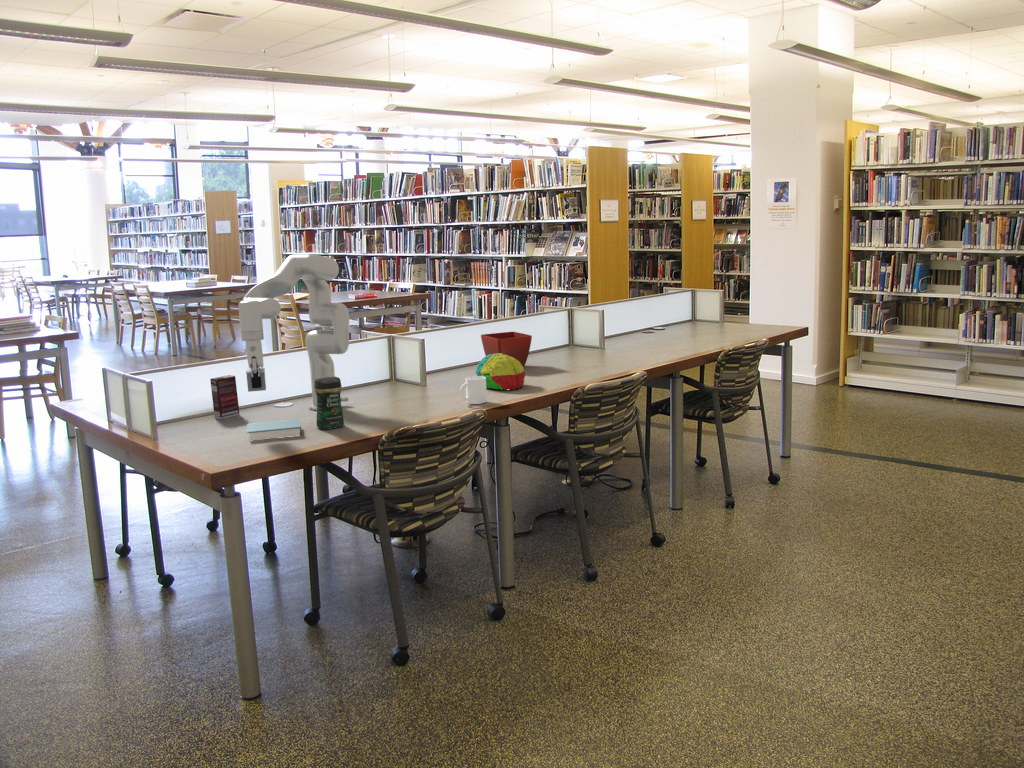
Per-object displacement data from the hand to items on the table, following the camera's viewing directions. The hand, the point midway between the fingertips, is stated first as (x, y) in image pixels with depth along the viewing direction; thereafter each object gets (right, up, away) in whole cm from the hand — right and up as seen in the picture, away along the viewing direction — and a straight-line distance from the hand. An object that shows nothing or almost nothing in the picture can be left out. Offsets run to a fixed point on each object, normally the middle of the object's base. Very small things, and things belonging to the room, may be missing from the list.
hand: (257, 385), depth 298 cm
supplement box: (-21, -12, +32) cm, 40 cm away
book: (+6, -18, +1) cm, 19 cm away
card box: (0, -1, 0) cm, 1 cm away
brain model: (+86, -1, +73) cm, 113 cm away
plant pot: (+88, +8, +117) cm, 147 cm away
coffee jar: (+24, -15, +9) cm, 30 cm away
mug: (+75, -8, +41) cm, 86 cm away
